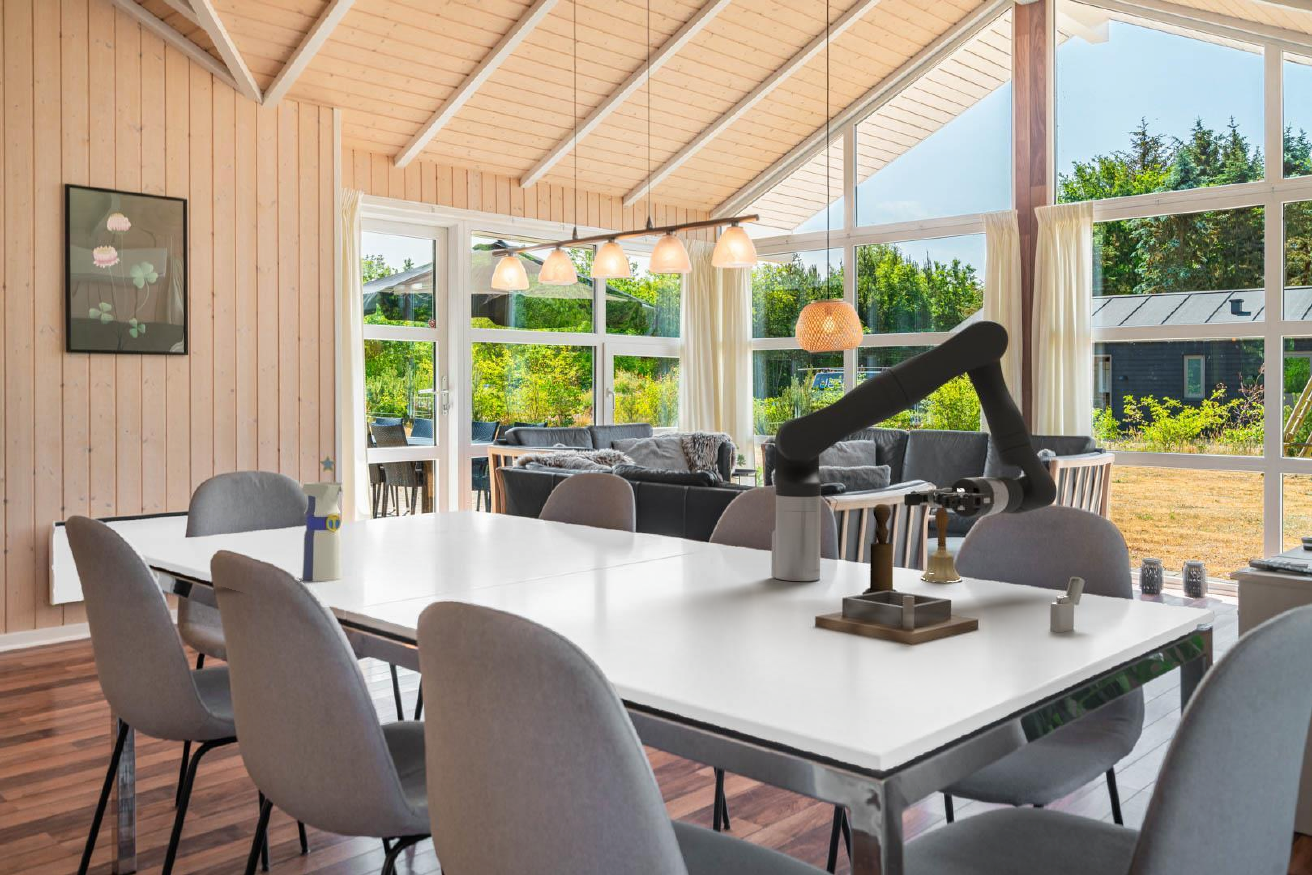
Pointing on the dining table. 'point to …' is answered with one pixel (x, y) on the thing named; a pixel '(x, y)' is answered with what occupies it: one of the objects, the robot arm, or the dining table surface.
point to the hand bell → (941, 554)
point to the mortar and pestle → (881, 554)
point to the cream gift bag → (322, 530)
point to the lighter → (1066, 607)
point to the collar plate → (897, 617)
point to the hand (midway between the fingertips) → (924, 501)
